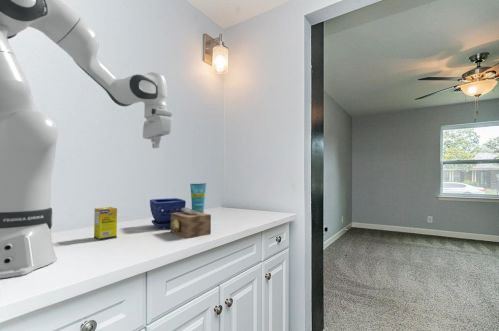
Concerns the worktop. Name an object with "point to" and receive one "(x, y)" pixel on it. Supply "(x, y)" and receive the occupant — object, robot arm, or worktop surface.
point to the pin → (176, 225)
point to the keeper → (189, 211)
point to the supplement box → (105, 223)
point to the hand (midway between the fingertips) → (155, 147)
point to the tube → (198, 196)
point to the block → (192, 224)
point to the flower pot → (165, 210)
